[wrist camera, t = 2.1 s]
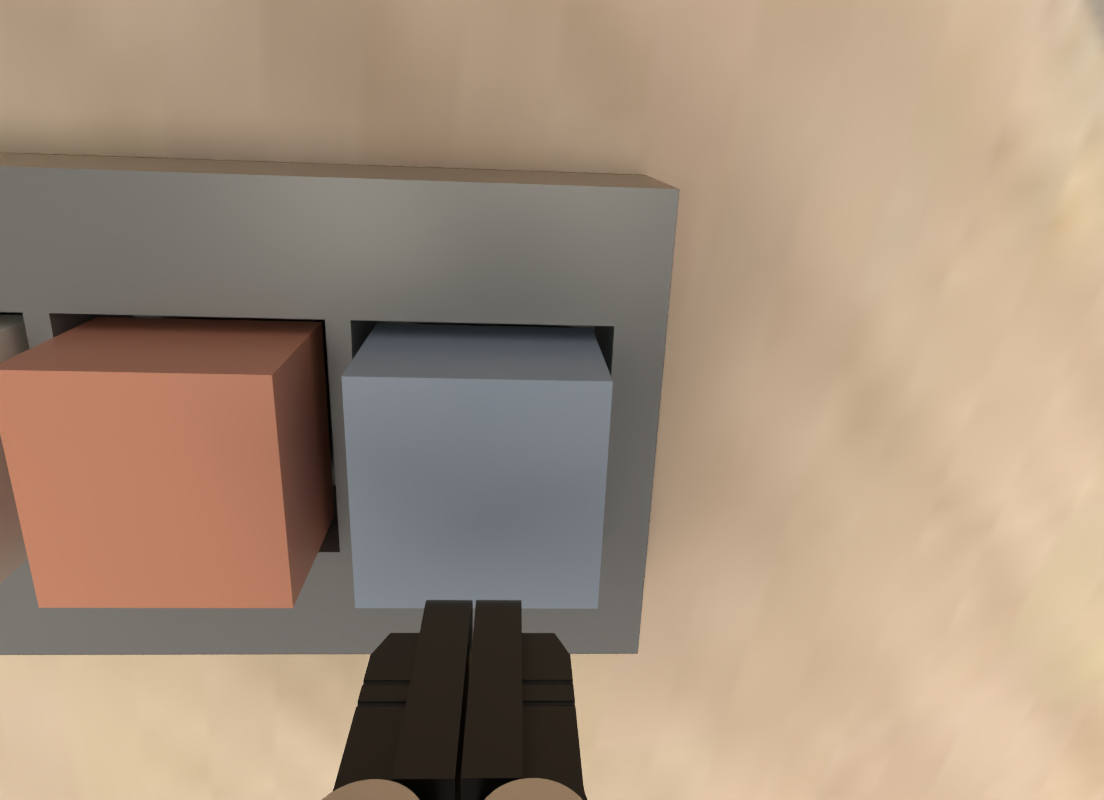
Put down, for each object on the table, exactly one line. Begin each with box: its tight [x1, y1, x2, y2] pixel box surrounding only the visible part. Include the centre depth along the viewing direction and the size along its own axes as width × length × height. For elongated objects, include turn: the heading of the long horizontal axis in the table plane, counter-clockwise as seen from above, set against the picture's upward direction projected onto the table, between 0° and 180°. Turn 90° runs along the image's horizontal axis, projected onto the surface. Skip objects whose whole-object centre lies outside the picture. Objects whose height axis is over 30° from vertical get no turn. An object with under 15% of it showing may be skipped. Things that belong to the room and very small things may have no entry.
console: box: [0, 152, 679, 655], centre depth 22 cm, size 23×13×5 cm, turn 88°
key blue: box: [342, 323, 613, 609], centre depth 19 cm, size 6×6×4 cm
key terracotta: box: [0, 317, 334, 608], centre depth 19 cm, size 6×6×4 cm
